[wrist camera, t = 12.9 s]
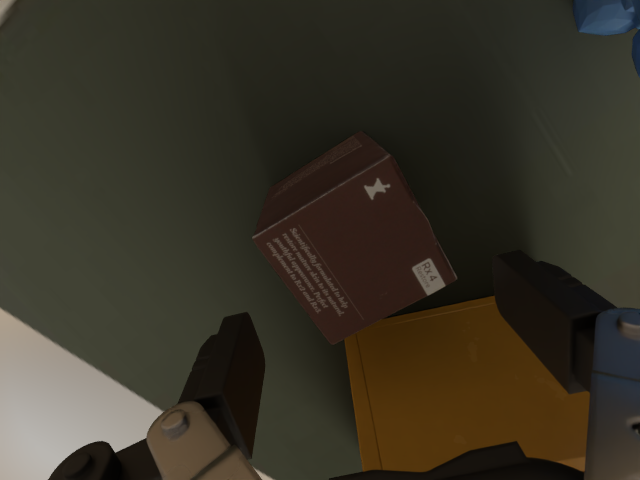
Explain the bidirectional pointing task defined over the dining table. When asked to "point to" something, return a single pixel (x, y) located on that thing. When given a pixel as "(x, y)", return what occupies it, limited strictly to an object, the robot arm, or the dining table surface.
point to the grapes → (610, 20)
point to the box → (351, 239)
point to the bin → (457, 391)
